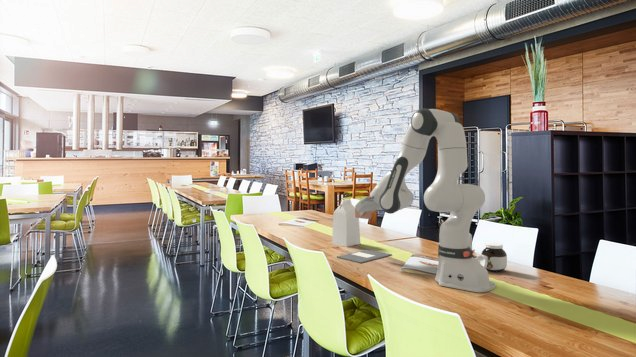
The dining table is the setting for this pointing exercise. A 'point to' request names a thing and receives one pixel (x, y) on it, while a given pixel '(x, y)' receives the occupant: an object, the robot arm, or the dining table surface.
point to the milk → (345, 225)
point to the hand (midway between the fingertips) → (364, 214)
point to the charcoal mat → (364, 256)
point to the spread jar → (493, 257)
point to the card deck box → (366, 215)
